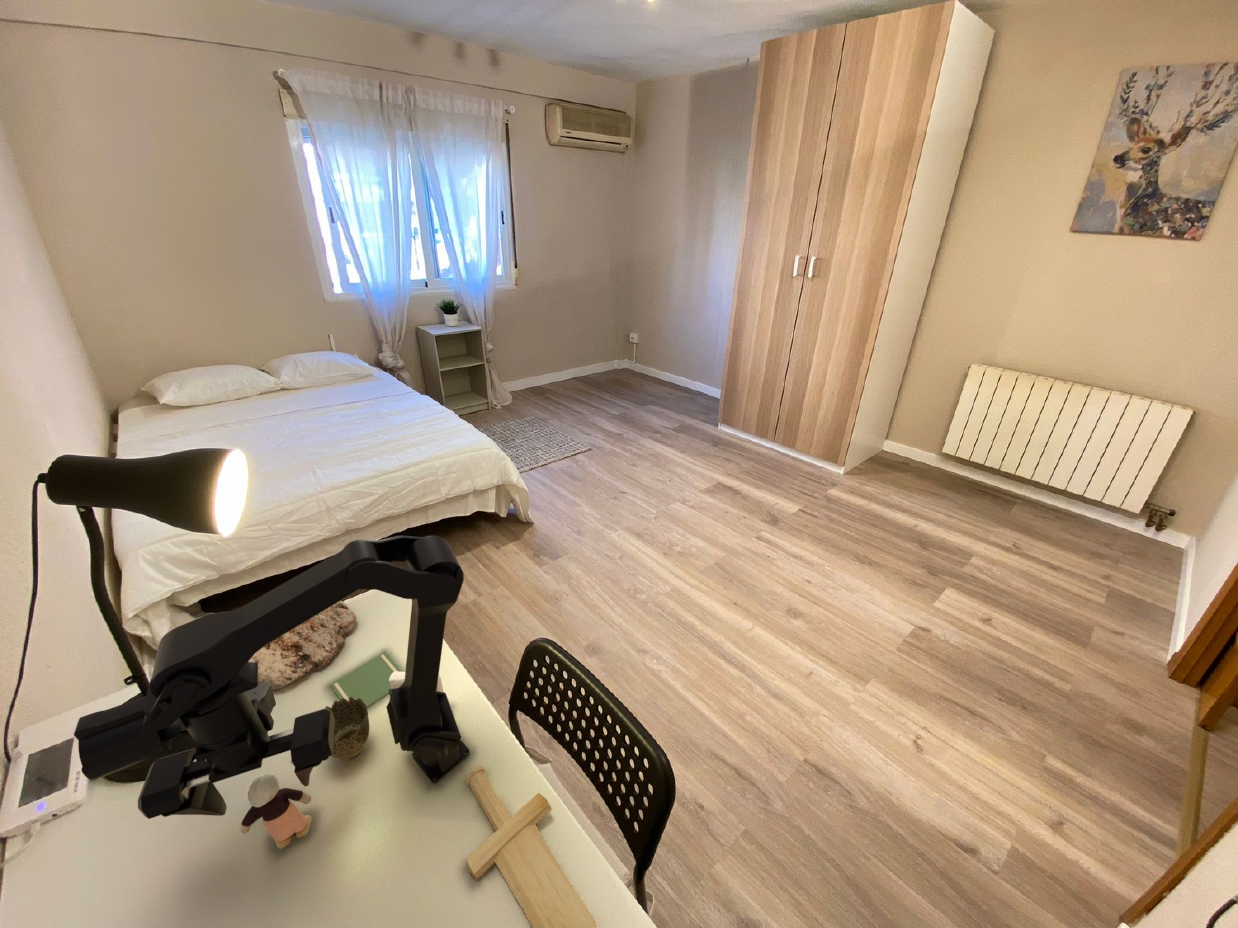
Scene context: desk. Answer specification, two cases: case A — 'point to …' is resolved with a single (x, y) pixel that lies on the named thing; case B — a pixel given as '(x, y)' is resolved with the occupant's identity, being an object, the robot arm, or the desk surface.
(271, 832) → the grandmother figurine
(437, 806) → the desk surface
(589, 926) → the toy sword
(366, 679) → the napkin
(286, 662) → the stone
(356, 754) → the cup
